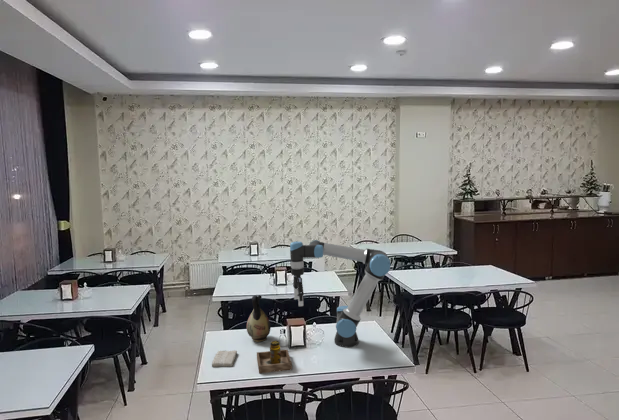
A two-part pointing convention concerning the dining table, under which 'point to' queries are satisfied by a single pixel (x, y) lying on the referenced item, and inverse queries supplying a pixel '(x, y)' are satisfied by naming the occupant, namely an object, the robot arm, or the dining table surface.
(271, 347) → the condiment
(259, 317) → the ceramic jug
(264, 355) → the tray
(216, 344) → the dining table surface
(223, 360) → the washcloth
